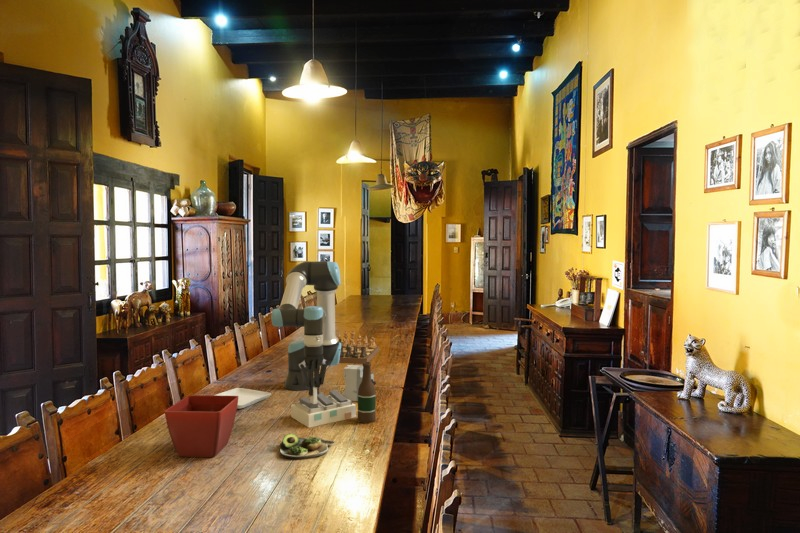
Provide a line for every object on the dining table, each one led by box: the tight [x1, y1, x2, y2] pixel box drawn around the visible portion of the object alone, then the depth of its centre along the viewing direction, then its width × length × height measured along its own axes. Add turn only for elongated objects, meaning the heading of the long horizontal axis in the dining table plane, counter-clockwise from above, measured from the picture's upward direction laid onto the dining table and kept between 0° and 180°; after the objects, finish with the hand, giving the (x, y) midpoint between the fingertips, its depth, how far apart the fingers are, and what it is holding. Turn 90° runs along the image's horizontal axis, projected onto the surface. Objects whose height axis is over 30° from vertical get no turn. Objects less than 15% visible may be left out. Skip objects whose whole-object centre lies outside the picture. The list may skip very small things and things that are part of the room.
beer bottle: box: [357, 361, 377, 424], centre depth 215 cm, size 8×8×24 cm
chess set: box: [336, 329, 380, 365], centre depth 337 cm, size 40×40×15 cm
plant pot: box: [164, 394, 238, 458], centre depth 183 cm, size 19×19×17 cm
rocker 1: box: [299, 396, 318, 408], centre depth 215 cm, size 10×3×2 cm, turn 37°
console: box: [290, 394, 357, 428], centre depth 219 cm, size 16×22×6 cm
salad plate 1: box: [215, 387, 272, 410], centre depth 239 cm, size 21×21×3 cm
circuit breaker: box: [342, 364, 377, 402], centre depth 244 cm, size 8×14×15 cm, turn 78°
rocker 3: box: [328, 389, 348, 403], centre depth 223 cm, size 10×3×2 cm, turn 37°
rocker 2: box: [317, 391, 333, 406], centre depth 219 cm, size 10×3×2 cm, turn 37°
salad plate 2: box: [279, 433, 336, 460], centre depth 185 cm, size 19×18×5 cm
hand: (313, 403), depth 211 cm, fingers closed
